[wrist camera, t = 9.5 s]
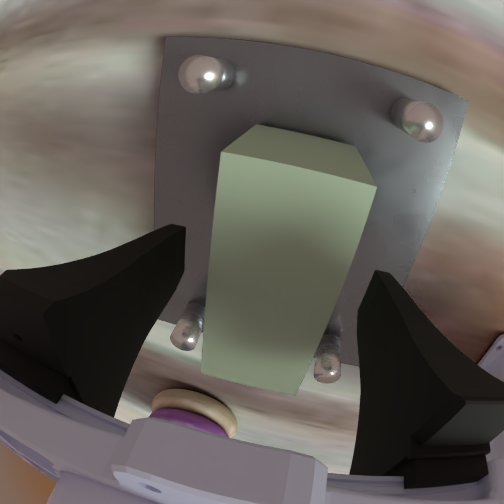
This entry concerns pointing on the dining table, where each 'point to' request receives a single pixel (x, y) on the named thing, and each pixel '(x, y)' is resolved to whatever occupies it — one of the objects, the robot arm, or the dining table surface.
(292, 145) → the block
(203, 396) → the stacking toy
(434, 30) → the dining table surface
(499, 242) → the dining table surface
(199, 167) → the plate
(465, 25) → the dining table surface
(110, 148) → the dining table surface
